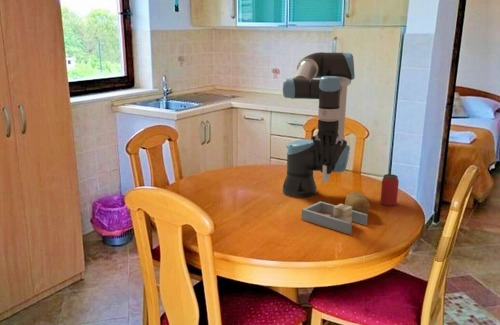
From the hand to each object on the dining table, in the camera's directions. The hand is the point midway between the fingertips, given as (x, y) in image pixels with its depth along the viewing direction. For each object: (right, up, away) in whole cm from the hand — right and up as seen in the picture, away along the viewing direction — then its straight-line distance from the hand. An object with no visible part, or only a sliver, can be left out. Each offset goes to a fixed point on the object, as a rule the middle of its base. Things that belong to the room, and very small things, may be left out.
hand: (325, 181), depth 186 cm
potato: (+14, -13, +10) cm, 22 cm away
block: (+6, -16, -1) cm, 17 cm away
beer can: (+29, -10, +21) cm, 37 cm away
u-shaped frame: (+4, -15, +1) cm, 16 cm away
